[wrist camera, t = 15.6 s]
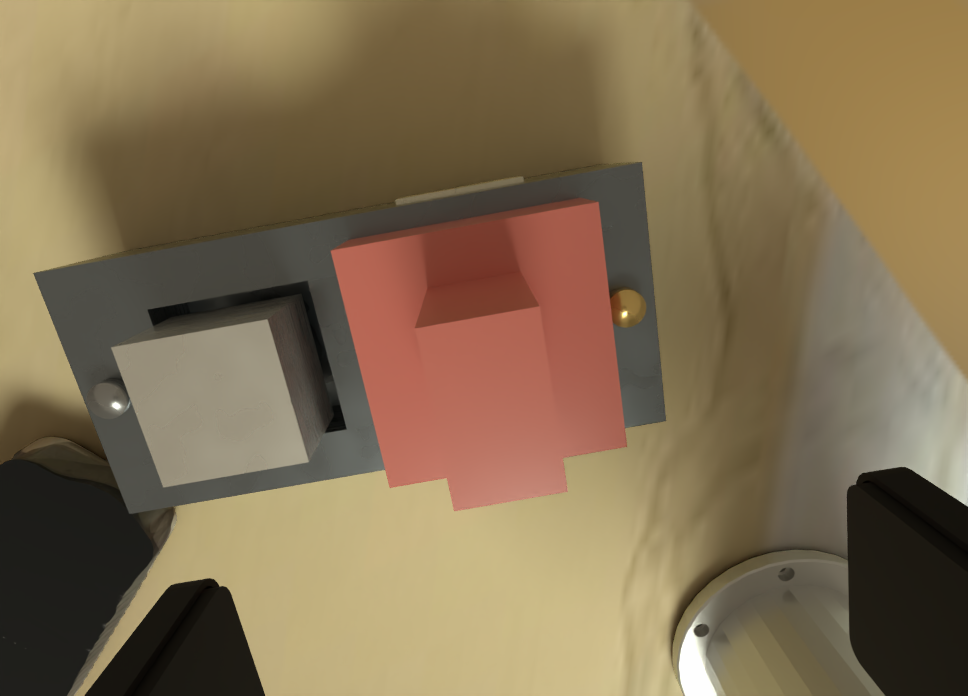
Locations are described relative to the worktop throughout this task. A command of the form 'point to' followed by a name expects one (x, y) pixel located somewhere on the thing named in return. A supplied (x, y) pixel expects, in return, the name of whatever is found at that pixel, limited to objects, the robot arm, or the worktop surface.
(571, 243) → the cap
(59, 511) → the black sponge
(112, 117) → the worktop surface
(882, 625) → the robot arm
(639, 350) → the panel
